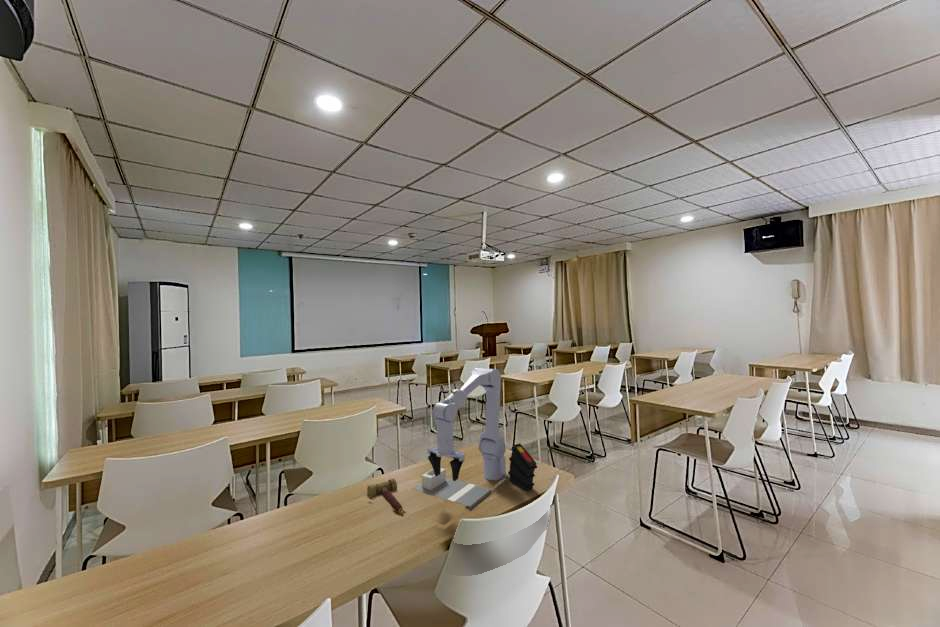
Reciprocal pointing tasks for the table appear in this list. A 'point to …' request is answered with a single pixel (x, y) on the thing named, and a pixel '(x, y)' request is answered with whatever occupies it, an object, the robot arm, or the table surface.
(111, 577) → the table surface
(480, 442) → the robot arm
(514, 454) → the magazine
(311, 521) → the table surface
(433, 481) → the block
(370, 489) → the gavel
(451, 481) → the board
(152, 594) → the table surface
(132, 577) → the table surface
